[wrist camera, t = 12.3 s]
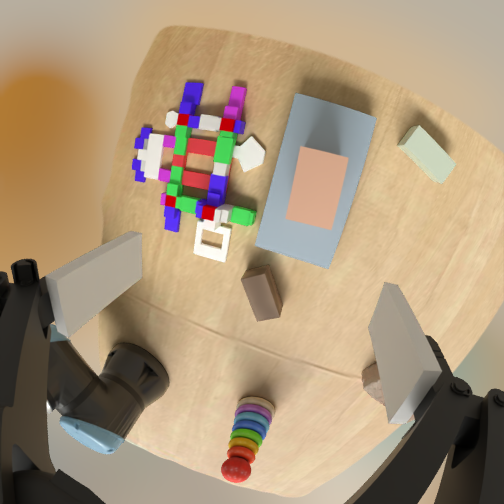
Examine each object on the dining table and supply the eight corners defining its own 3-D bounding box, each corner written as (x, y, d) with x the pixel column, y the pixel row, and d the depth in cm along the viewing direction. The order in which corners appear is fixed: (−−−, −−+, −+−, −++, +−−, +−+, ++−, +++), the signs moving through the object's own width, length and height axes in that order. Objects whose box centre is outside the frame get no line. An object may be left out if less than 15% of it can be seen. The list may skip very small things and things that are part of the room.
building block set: (149, 82, 36) (133, 78, 32) (281, 94, 33) (277, 87, 29) (130, 232, 45) (115, 240, 41) (246, 265, 43) (238, 277, 39)
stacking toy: (283, 409, 51) (266, 487, 34) (257, 422, 54) (236, 492, 37) (255, 389, 51) (229, 469, 33) (230, 403, 54) (201, 475, 37)
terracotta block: (291, 204, 34) (285, 218, 27) (303, 148, 32) (300, 146, 24) (327, 213, 34) (331, 230, 26) (340, 157, 31) (348, 157, 24)
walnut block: (261, 309, 44) (257, 321, 41) (246, 269, 43) (240, 279, 39) (282, 305, 43) (279, 317, 40) (268, 264, 41) (264, 273, 38)
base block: (260, 236, 41) (254, 245, 37) (297, 98, 33) (295, 92, 29) (327, 258, 40) (328, 269, 36) (370, 121, 32) (376, 117, 28)
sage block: (432, 180, 32) (442, 183, 29) (396, 145, 32) (404, 145, 29) (445, 162, 31) (456, 164, 28) (410, 127, 31) (419, 125, 27)
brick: (358, 372, 45) (360, 391, 41) (396, 346, 42) (401, 364, 37) (401, 409, 46) (404, 425, 42) (435, 387, 43) (440, 404, 39)
